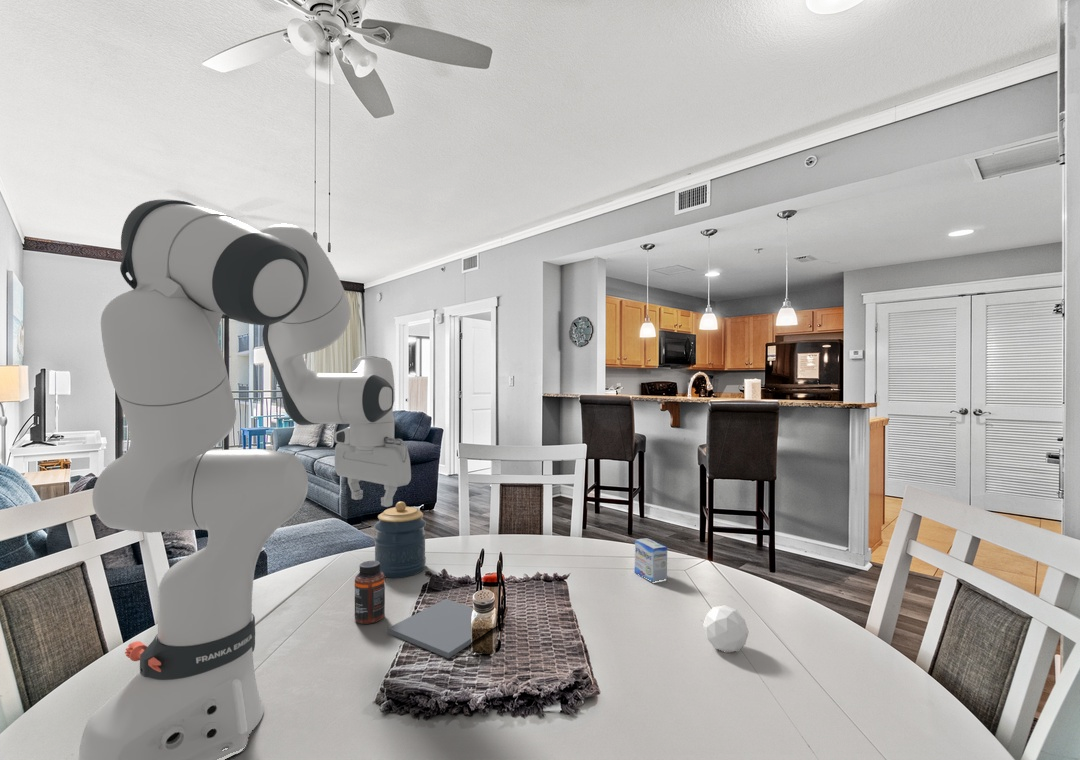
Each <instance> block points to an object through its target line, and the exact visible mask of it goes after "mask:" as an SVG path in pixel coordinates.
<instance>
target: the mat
mask: <svg viewBox="0 0 1080 760" xmlns="http://www.w3.org/2000/svg"><path fill="white" fill-rule="evenodd" d="M471 613H472V606H470V605H466V604H463V603H461V602H457V601H454V600H452V599H451V600H450V599H448V598H445V599H442V600H441V601H439V602H437V603H435V604H432V605H431V606H428V607H426V608H425V609H422V610H421V611H419V612H417V613H415V614H413V615H411V616H409V617H406V619H402V620H401V621H399V622H397V623H395V624H392V625H391V626H388V627H387V634H389V635H391V636H393V637H396V638H399V639H401V640H403V641H406V642H408V643H410V644H413V645H414V646H417V647H420V648H422V649H425V650H426V651H430V652H432V653H434V654H436V655H439V656H441V657H444V658H446V659H450V658H451V657H453V656H454V655H456V654H458V653H459V652H460V651H462V650H464V649H465V648H467V647H469V646H470V645H471V631H470V626H471Z"/></svg>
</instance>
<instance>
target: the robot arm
mask: <svg viewBox="0 0 1080 760" xmlns="http://www.w3.org/2000/svg"><path fill="white" fill-rule="evenodd" d="M120 251H121V254H122V259H121V263H120V267H119V268H120V269H119V271H120V274H121V276H122V277H123V280H124V281H125V282H126V283H127V285H129V287H131V290H129V291H126V292H124V293H122V294H120V295H118V296H116V297H115V298H113V299H111V300H110V301H109V303H108V304H107V305H105V307H104V309H103V311H102V313H101V318H100V333H101V340H102V346H103V347H102V348H103V353H104V358H105V362H106V366H107V370H108V373H109V377H110V380H111V383H112V385H113V388H114V391H115V393H116V395H117V398H118V402H119V404H120V406H121V409H122V412H123V415H124V417H125V421H126V425H127V428H128V432H129V435H130V437H129V438H130V444H129V447H128V448H127V451H126V452H125V453H124V454H122V455H121V456H120V457H118V458H116V459H114V460H113V461H112V462H110V463H109V464H108V465H107V466H106V467H104V469H103V470H102V471H101V473H100V474H99V476H98V477H97V479H96V481H95V484H94V486H93V490H92V495H91V496H92V499H91V500H92V507H93V510H94V512H95V515H96V516H97V518H98V519H99V520H100V522H101V523H102V524H103V525H104V526H105V527H108V528H110V529H114V530H120V531H121V530H123V531H131V532H140V533H165V532H179V531H180V532H183V531H197V530H203V531H207V535H208V537H207V543H206V546H205V547H203V548H202V549H199V550H197V551H194V552H193V553H191V554H190V555H187V556H185V557H183V558H182V559H180V560H178V561H177V562H176V563H174V564H173V565H172V566H170V568H169V569H167V570H166V572H165V573H164V575H163V576H162V578H161V580H160V582H159V585H158V589H157V590H158V591H157V592H158V595H157V598H158V599H157V602H158V603H157V634H156V635H155V636H154V638H153V640H152V641H151V642H150V644H148V645H146V644H144V643H143V642H142V641H140V640H138V641H137V640H136V641H133V642H131V643H129V644H128V645H127V647H126V648H125V652H124V654H125V656H126V657H127V658H129V659H130V660H131V661H133V662H139V670H138V671H137V672H136V673H135V674H134V675H133V676H132V677H131V678H130V679H129V680H128V681H126V682H125V683H124V684H123V685H122V687H120V689H118V690H117V691H116V692H115V693H114V694H113V695H112V696H110V698H109V699H107V700H106V701H105V702H104V703H103V704H102V705H101V706H100V707H98V708H97V709H96V710H95V711H94V712H93V713H92V715H90V717H89V718H88V720H87V722H86V724H85V726H84V729H83V732H82V735H81V738H80V744H79V748H78V751H79V753H78V760H217V759H219V758H222V757H224V756H226V755H228V754H230V753H233V752H236V751H239V750H240V749H242V748H244V747H245V745H246V743H247V741H248V742H249V739H248V737H250V735H251V733H253V731H254V730H255V729H256V727H257V726H258V725H259V723H260V721H261V720H262V718H263V715H264V711H265V709H264V705H263V702H262V699H261V697H260V696H261V695H260V692H259V689H258V685H257V679H256V673H255V672H256V671H255V664H254V655H253V652H254V651H255V646H256V620H255V619H256V616H255V615H254V613H253V612H252V611H253V610H252V609H253V608H252V607H253V591H254V590H253V589H254V579H255V571H256V565H257V562H258V559H259V556H260V554H261V552H262V550H263V548H264V546H265V545H266V543H267V541H268V540H269V538H270V537H271V536H272V535H273V534H274V532H275V531H276V530H278V528H279V527H280V526H282V525H283V524H284V523H286V522H288V521H289V520H290V519H292V517H293V516H294V515H296V514H297V512H298V511H299V510H300V509H301V507H302V505H303V504H304V503H305V500H306V498H307V495H308V491H309V476H308V474H307V470H306V468H305V466H304V464H303V463H302V461H301V460H300V459H299V457H297V456H296V455H295V454H293V453H288V452H284V451H278V450H272V449H271V450H270V449H263V448H246V449H245V448H244V449H242V448H241V449H214V448H215V447H216V446H218V445H219V444H220V443H221V442H222V441H223V440H224V439H226V437H227V436H229V434H230V433H231V432H232V430H233V428H234V427H235V424H236V420H237V408H236V403H235V398H234V395H233V392H232V391H233V390H232V388H231V387H232V386H231V382H230V379H229V374H228V371H227V366H226V363H225V359H224V356H223V352H222V348H221V347H220V344H219V330H220V324H221V320H222V318H223V315H224V316H227V317H228V318H230V319H232V320H233V321H236V322H240V323H243V324H248V325H256V326H263V327H262V343H263V348H264V350H265V353H266V356H267V359H268V361H269V364H270V367H271V369H272V372H273V375H274V377H275V380H276V382H277V385H278V387H279V389H280V392H281V398H282V405H283V408H284V411H285V413H286V415H287V416H288V417H289V418H290V419H291V420H292V421H293V422H294V423H295V424H298V425H299V426H311V425H313V426H314V425H320V424H322V425H323V424H325V425H331V424H332V425H333V424H334V425H348V424H349V426H348V427H346V428H343V429H341V430H338V431H336V432H334V434H333V435H334V436H333V440H334V443H336V445H335V447H334V471H335V472H336V474H337V476H338V477H344V478H347V485H348V486H349V488H350V492H351V499H352V500H357V501H358V500H362V499H363V497H364V496H363V494H364V490H363V489H361V487H360V483H359V482H361V481H364V482H369V483H374V484H379V485H383V490H385V493H384V496H382V497H380V502H381V503H380V505H381V507H386V508H388V507H391V506H393V501H394V500H393V499H394V496H395V494H396V493H397V492H396V491H397V490H398V488H399V487H403V486H407V485H409V483H411V479H412V468H411V459H410V453H409V450H408V445H406V443H405V442H404V440H403V439H402V438H395V417H394V413H393V412H394V411H393V407H394V404H395V401H396V395H395V394H396V393H395V390H396V389H395V379H394V378H395V377H394V369H393V365H392V362H391V361H390V360H388V359H387V358H384V357H380V356H374V355H372V356H371V355H362V356H357V357H355V358H354V359H353V361H352V366H351V367H352V368H351V372H348V373H347V372H319V371H314V370H312V369H311V370H310V369H308V367H307V364H306V362H305V358H304V355H306V354H309V353H310V354H311V353H315V352H318V351H321V350H322V351H323V350H324V349H326V348H328V347H330V346H332V345H333V344H334V343H335V342H337V341H338V340H339V339H340V338H341V336H342V335H343V334H344V332H345V331H346V329H347V328H348V325H349V323H350V319H351V308H350V302H349V299H348V297H347V294H346V291H345V288H344V287H343V284H342V282H341V280H340V277H339V275H338V273H337V271H336V269H335V267H334V265H333V263H332V262H331V261H330V258H329V257H328V256H327V253H326V252H325V250H324V249H323V248H322V247H321V245H320V244H319V242H318V241H317V239H316V238H315V237H314V236H313V235H312V233H310V232H309V231H307V230H306V229H305V228H302V227H301V226H298V225H295V224H294V225H293V224H287V223H281V224H273V225H270V226H266V227H264V228H262V229H260V230H258V229H256V228H255V227H252V226H250V225H248V224H246V223H244V222H241V221H239V220H238V219H237V218H236V217H233V216H230V215H228V214H224V213H222V212H218V211H216V210H214V209H213V210H212V209H209V208H204V207H201V206H198V205H195V204H194V203H191V202H188V201H186V200H185V201H184V200H177V199H168V198H166V199H165V198H164V199H161V198H160V199H153V200H152V199H151V200H148V201H145V202H142V203H141V204H138V205H137V206H136V207H134V209H132V210H131V211H130V213H128V216H127V217H126V219H125V221H124V224H123V227H122V230H121V236H120ZM127 273H128V274H129V275H130V277H131V279H130V278H129V277H128V275H127ZM252 730H253V731H252ZM249 734H250V735H249ZM247 744H248V743H247ZM225 748H228V749H227V750H224V751H222V750H223V749H225Z"/></svg>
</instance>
